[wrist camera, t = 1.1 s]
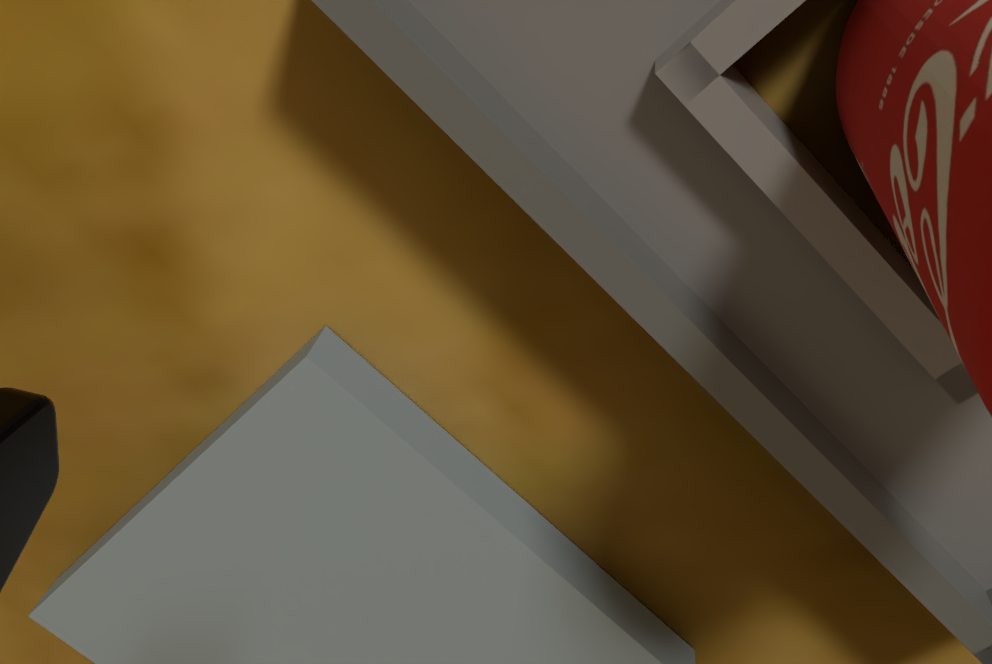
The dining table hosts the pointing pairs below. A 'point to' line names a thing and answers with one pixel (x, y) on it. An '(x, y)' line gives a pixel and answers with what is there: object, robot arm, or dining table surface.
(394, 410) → the slate board
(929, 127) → the beverage can
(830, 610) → the dining table surface
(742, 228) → the grey tray
